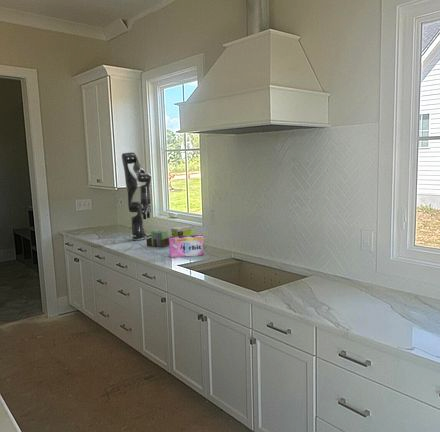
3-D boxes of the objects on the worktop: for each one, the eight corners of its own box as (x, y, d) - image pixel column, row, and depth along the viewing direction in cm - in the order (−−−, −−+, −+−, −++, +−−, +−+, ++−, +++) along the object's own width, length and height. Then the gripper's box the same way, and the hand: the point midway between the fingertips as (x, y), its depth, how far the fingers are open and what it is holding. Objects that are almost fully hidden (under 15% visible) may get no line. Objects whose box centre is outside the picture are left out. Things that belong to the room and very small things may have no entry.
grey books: (161, 244, 328) (161, 231, 326) (166, 245, 326) (165, 231, 325) (156, 246, 322) (155, 232, 320) (160, 246, 320) (160, 232, 319)
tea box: (188, 243, 337) (187, 225, 335) (195, 244, 330) (194, 226, 328) (172, 246, 327) (171, 227, 325) (178, 247, 320) (177, 229, 318)
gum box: (204, 252, 301) (203, 234, 299) (204, 255, 293) (203, 236, 291) (170, 255, 295) (169, 236, 294) (169, 257, 288) (168, 238, 286)
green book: (166, 245, 326) (165, 230, 324) (168, 245, 325) (167, 230, 324) (161, 246, 320) (160, 231, 319) (163, 246, 320) (162, 231, 318)
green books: (156, 244, 329) (155, 229, 327) (160, 244, 328) (159, 230, 326) (151, 246, 323) (150, 231, 322) (155, 246, 322) (154, 231, 320)
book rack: (155, 245, 332) (154, 236, 331) (170, 246, 327) (170, 237, 326) (146, 247, 323) (146, 238, 322) (162, 248, 318) (162, 239, 317)
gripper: (147, 198, 319) (148, 219, 321) (153, 197, 333) (154, 217, 335) (137, 199, 319) (138, 219, 321) (143, 197, 333) (145, 217, 335)
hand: (146, 218), depth 328 cm, fingers open, 8 cm apart
